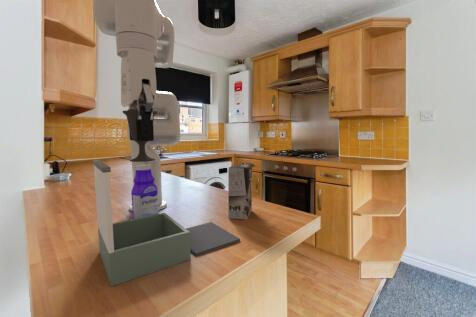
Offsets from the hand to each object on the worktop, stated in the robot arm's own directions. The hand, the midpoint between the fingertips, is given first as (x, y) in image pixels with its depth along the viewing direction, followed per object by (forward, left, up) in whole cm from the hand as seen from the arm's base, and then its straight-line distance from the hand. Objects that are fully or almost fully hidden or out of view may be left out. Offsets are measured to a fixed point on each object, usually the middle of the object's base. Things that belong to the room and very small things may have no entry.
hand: (141, 139), depth 50 cm
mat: (0, +14, -25) cm, 29 cm away
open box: (0, -1, -25) cm, 25 cm away
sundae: (0, 0, -5) cm, 5 cm away
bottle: (-19, +5, -25) cm, 32 cm away
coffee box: (-8, +32, -25) cm, 42 cm away
